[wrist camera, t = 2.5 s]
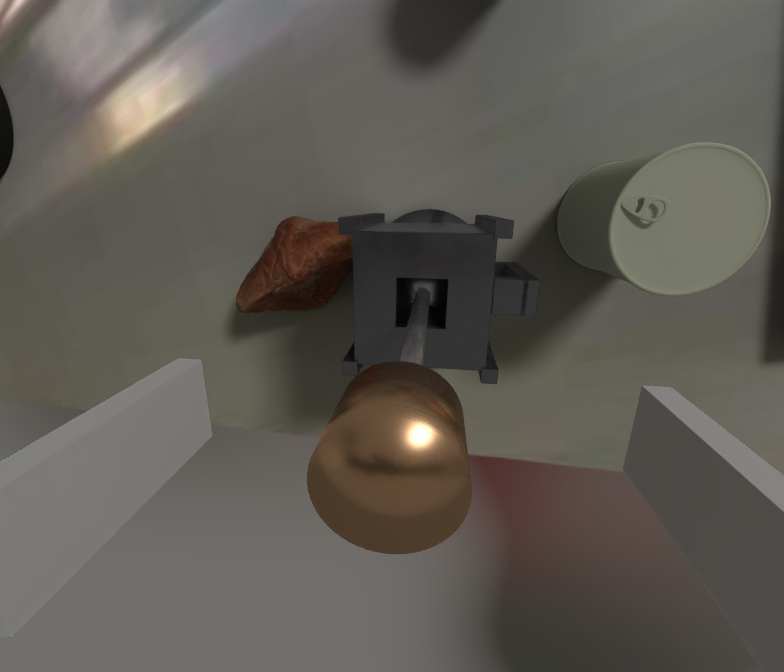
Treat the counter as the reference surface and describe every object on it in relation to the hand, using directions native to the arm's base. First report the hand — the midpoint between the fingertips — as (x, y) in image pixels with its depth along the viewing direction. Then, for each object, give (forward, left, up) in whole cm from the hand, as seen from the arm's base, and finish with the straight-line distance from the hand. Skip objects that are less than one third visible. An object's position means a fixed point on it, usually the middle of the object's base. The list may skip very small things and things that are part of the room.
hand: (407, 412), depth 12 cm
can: (+16, +5, -28) cm, 33 cm away
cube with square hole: (+1, 0, -28) cm, 28 cm away
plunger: (0, 0, -17) cm, 17 cm away
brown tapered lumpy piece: (-12, +1, -28) cm, 30 cm away
